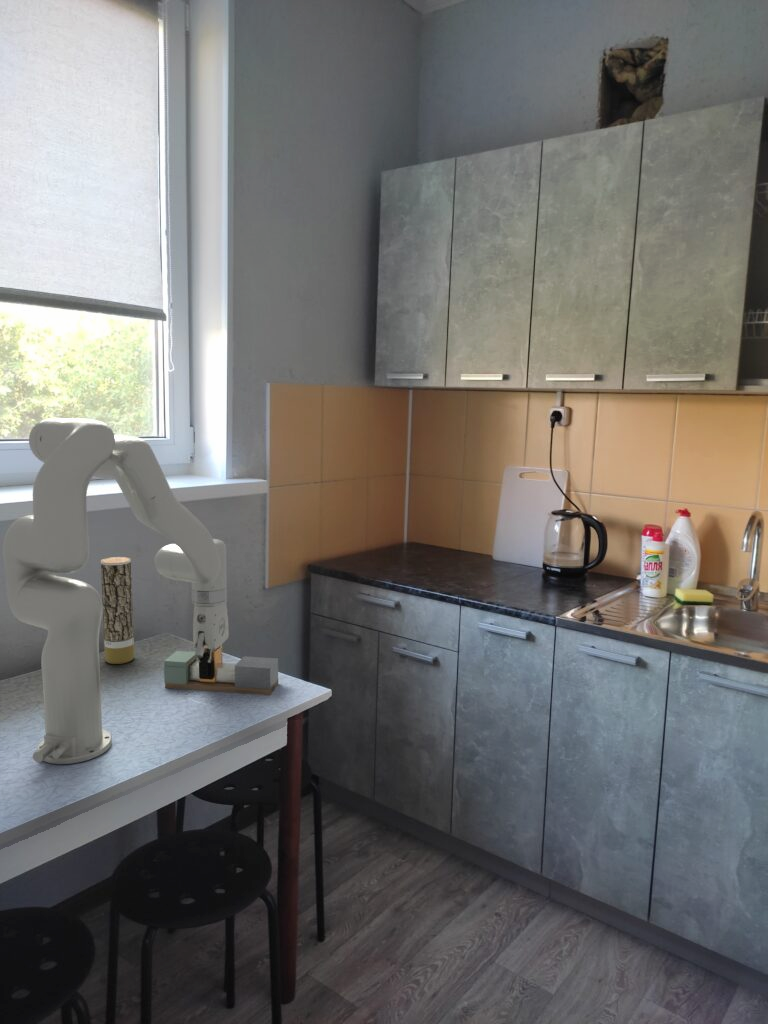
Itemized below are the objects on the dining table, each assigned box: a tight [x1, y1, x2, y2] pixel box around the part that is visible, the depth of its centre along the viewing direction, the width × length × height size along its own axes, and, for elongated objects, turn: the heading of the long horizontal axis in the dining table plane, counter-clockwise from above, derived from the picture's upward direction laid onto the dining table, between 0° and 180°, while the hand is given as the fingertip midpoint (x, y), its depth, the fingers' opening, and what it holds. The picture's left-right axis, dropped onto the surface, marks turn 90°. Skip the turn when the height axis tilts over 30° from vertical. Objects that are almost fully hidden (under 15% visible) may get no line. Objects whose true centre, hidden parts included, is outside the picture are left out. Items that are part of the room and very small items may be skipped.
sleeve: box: [235, 655, 279, 689], centre depth 163 cm, size 6×8×5 cm
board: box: [164, 679, 279, 696], centre depth 164 cm, size 7×24×1 cm, turn 82°
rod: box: [188, 645, 237, 683], centre depth 164 cm, size 4×15×7 cm, turn 82°
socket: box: [163, 650, 198, 684], centre depth 165 cm, size 7×5×5 cm
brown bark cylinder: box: [100, 556, 135, 665], centre depth 177 cm, size 7×7×25 cm
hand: (210, 673), depth 164 cm, fingers closed on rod, 4 cm apart
